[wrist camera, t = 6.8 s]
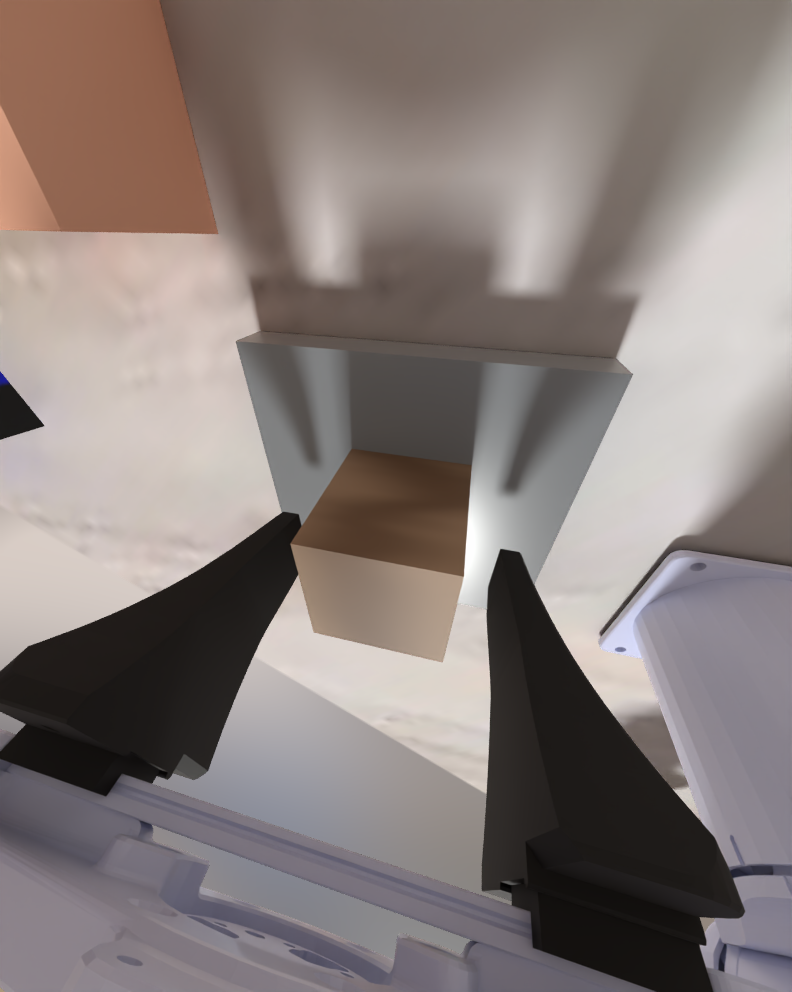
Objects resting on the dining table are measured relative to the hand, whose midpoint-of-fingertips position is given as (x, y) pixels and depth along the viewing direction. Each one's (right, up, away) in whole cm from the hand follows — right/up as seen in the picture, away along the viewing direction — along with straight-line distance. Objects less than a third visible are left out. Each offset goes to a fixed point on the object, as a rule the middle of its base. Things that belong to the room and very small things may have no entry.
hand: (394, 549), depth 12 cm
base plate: (+1, +2, +3) cm, 4 cm away
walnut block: (+1, +2, +2) cm, 2 cm away
